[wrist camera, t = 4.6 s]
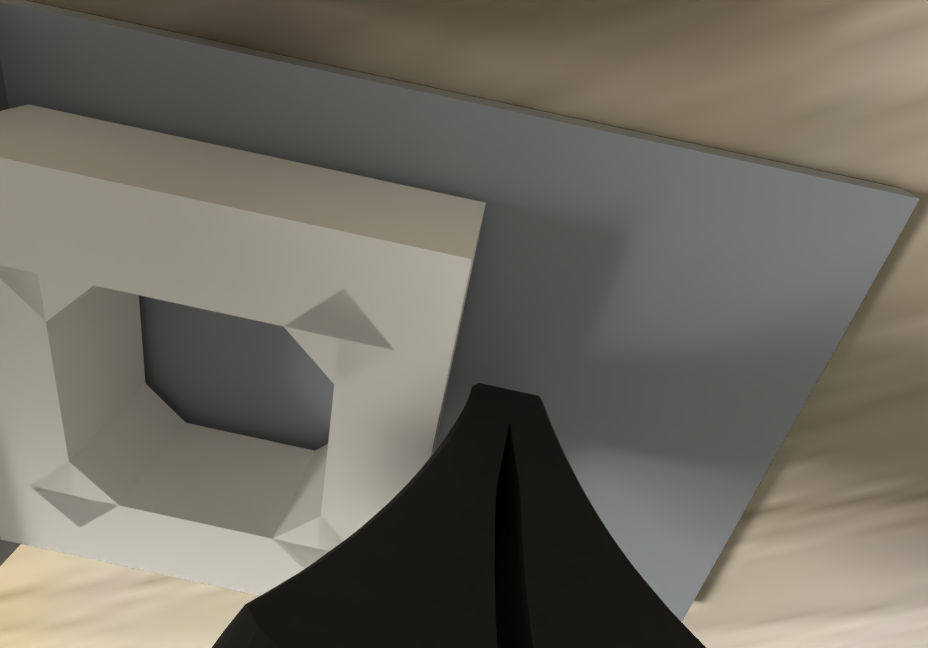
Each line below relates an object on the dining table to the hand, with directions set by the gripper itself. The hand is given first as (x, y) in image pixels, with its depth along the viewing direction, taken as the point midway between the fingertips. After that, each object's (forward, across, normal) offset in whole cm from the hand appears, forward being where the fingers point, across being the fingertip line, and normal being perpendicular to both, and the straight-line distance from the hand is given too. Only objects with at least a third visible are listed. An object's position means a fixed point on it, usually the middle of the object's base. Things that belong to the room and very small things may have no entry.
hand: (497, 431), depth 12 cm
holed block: (+1, +5, 0) cm, 5 cm away
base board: (+2, +3, 0) cm, 3 cm away
